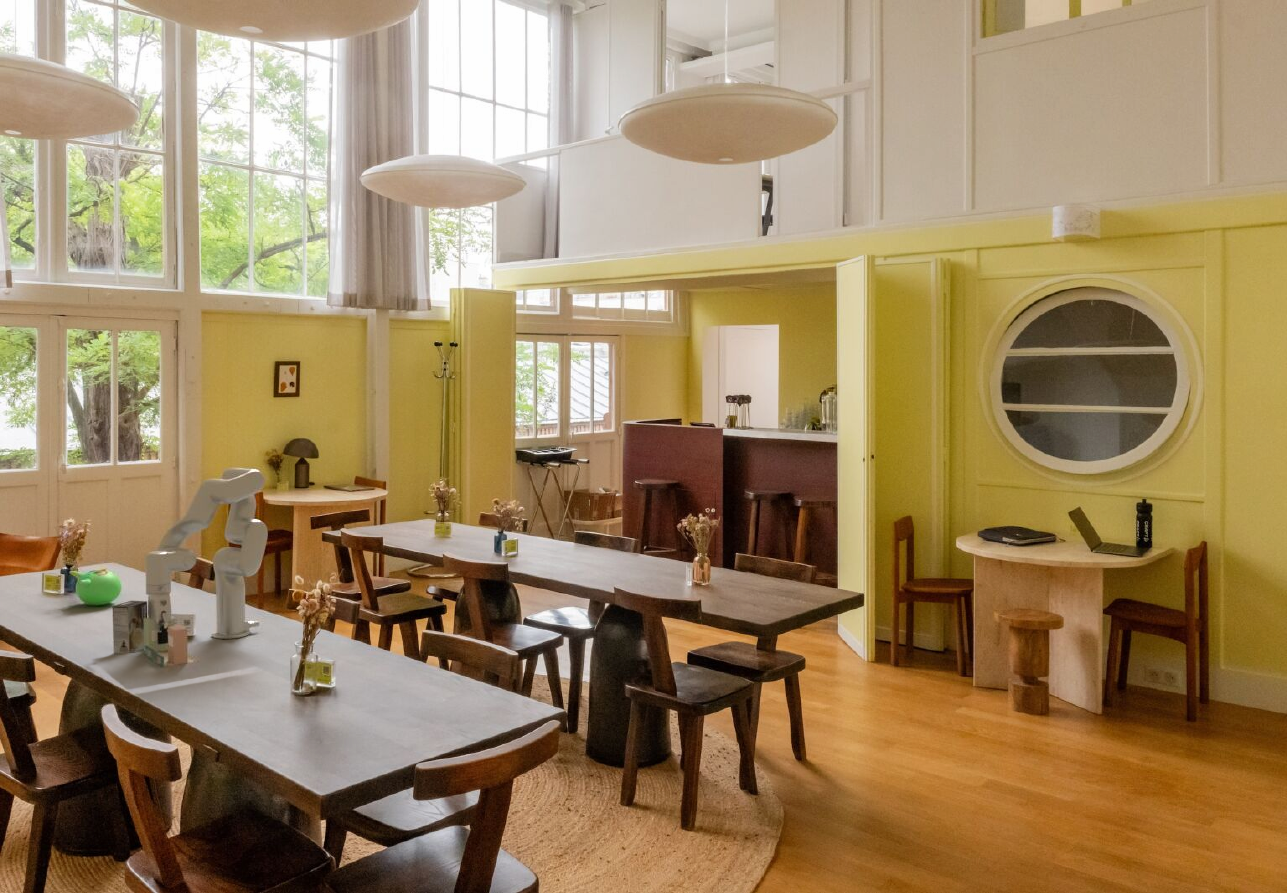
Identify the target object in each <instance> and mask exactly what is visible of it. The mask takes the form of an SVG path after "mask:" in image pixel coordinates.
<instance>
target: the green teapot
mask: <svg viewBox="0 0 1287 893" xmlns="http://www.w3.org/2000/svg"><path fill="white" fill-rule="evenodd" d="M107 569H108V567H104V568H100V569H96V570H90V571H88V572H86V573H84V572H80V571H77V570H70V571H69V574H71V575H72V576H73V577H75V578H76V579H77V582H76V583H75V593H76V596H77V597H78V599H79V600H80V601H81V602H83V603H84V604H87V605H88V606H89V605H90V606H103V605H108V604H110V603H111V602H114V601H115V600H117V599H118V598H119V596H120V595H121V592H122V582H121V580H120V577H118V575H116V574H115V573H114V572H112V571H110V570H107Z"/></svg>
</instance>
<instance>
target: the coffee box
mask: <svg viewBox="0 0 1287 893" xmlns="http://www.w3.org/2000/svg"><path fill="white" fill-rule="evenodd" d="M145 618H148V600H147V601H146V600H145V601H144V600H128V601H125V602H121V603H118V604H116V605H113V606H112V636H113V637H112V638H113V639H112V640H113V641H112V642H113V643H112V644H113V653H114V654H119V655H121V654H122V655H128V654H134V653H136V652H139V651H142V650H144V619H145Z"/></svg>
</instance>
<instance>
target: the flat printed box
mask: <svg viewBox="0 0 1287 893" xmlns="http://www.w3.org/2000/svg"><path fill="white" fill-rule="evenodd" d="M144 655H145V656H146V657H147V658H149V659H150V660H151V661H153V662H154V663H156V664H157V665H159V666H160V667H162V668H164V667H165V668H167V667H172V666H175V665H174V664H172V663H171V662H169V661H168V650H165V651H159V652H156V651H154V650H153V649H151V648H150V647H148V646H147V645H146V646H145V651H144ZM199 661H200V660H199V659H198V658H195V657H194V656H193V655H191V654H189V653H188V663H187V664H189V663H194V662H199ZM183 664H185V663H183ZM183 664H182V665H183ZM177 665H179V664H177ZM177 665H176V666H177Z"/></svg>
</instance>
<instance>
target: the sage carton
mask: <svg viewBox="0 0 1287 893" xmlns="http://www.w3.org/2000/svg"><path fill="white" fill-rule="evenodd" d="M162 622H163V621H162ZM159 623H161V622H159ZM160 626H162V625H160ZM168 626H169V627H171V626H175V617H174V616H172V622H171V623H168ZM158 632H159V630H158V625H157V624H155V622H154V620H152V619H151V618H148V617H147V618H145V619H144V649H143V651H144V652H145V646H146V645H147V646H148V647H150V648H151V649H153V650H154V651H156V652H157V653H159V652H165V651H168V643H165V644H158Z"/></svg>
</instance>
